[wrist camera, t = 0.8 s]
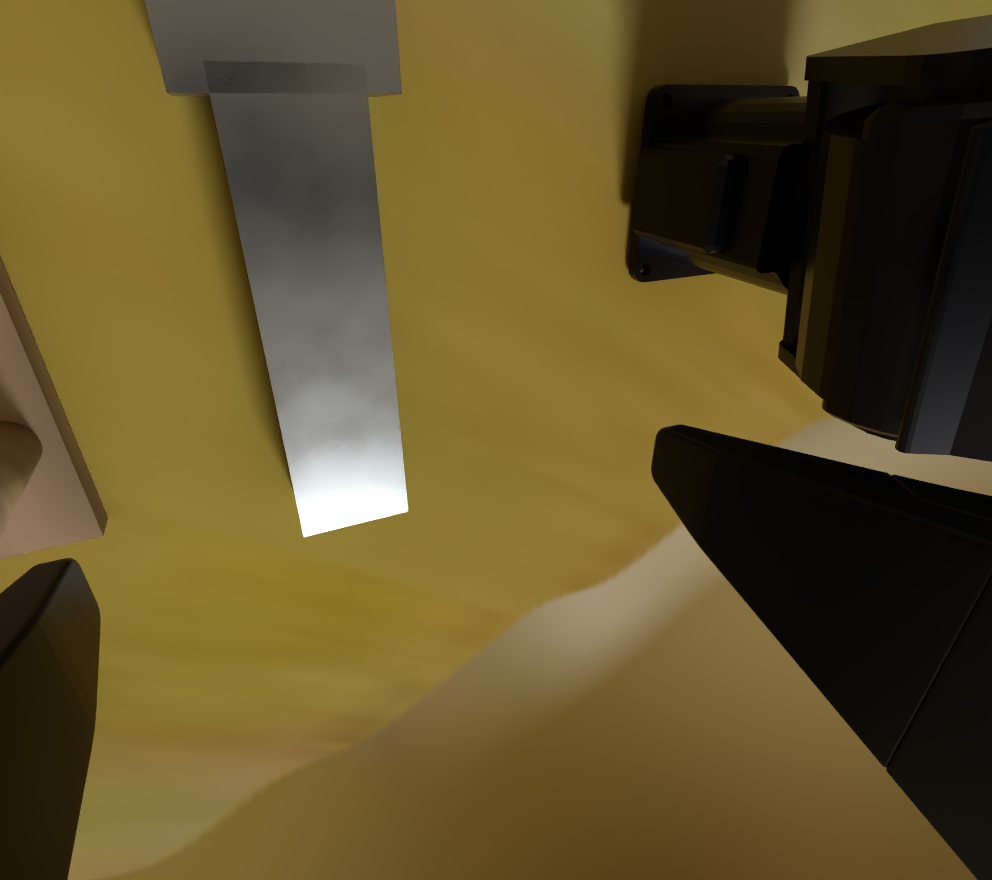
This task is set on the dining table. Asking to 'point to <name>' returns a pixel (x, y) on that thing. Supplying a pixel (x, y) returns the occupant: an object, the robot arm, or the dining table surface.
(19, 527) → the rack
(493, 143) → the dining table surface
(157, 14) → the spanner
